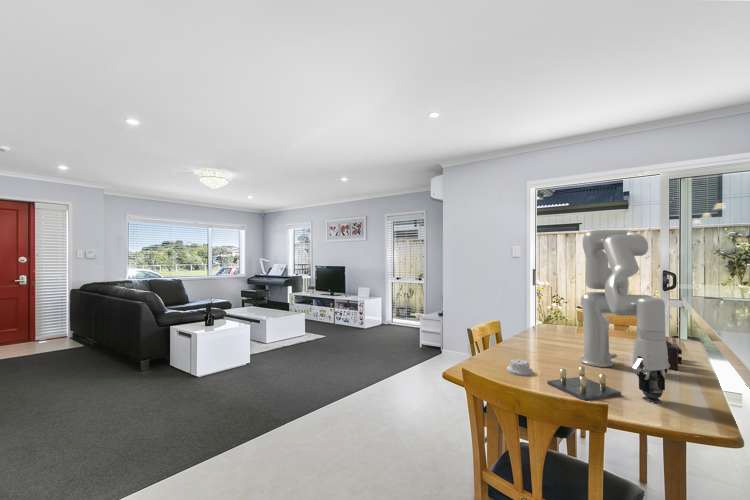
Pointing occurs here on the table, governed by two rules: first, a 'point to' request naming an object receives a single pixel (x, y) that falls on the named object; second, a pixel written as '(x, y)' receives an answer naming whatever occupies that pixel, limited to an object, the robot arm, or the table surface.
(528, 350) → the table surface
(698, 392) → the table surface
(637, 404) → the table surface
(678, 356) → the end cap
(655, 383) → the grey chess piece
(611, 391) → the standoff chassis
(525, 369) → the mechanical component
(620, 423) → the table surface
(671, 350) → the dark boxy piece
